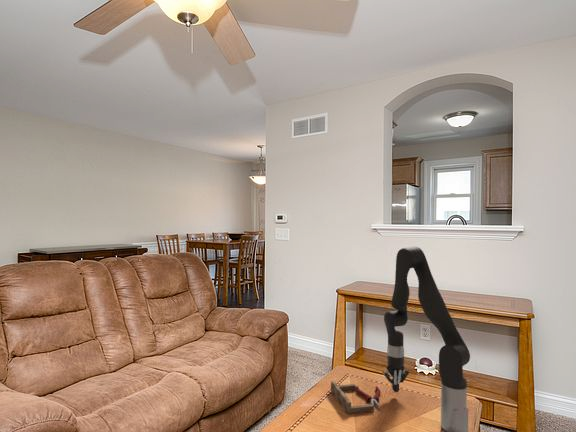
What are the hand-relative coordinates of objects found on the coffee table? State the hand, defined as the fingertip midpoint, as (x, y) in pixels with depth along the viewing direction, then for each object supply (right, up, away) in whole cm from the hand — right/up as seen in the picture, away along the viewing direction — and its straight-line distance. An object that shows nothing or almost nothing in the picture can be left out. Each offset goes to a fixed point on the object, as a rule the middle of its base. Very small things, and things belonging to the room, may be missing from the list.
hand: (395, 391), depth 166 cm
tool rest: (-21, -2, -5) cm, 22 cm away
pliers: (-13, -3, -2) cm, 14 cm away
